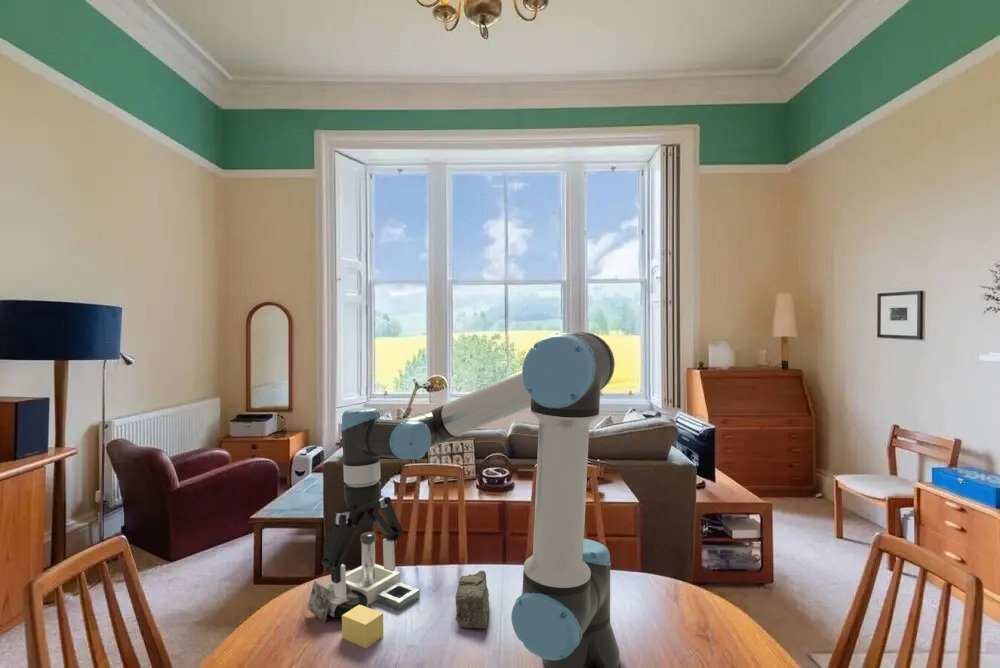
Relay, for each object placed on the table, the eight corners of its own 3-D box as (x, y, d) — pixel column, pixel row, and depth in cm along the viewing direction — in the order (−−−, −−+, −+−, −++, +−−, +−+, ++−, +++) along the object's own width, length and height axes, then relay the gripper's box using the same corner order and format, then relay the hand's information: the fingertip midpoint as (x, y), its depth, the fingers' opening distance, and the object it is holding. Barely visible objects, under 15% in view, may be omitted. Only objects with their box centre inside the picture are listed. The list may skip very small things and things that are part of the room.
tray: (400, 586, 133) (400, 572, 133) (366, 606, 124) (366, 591, 124) (369, 574, 139) (369, 561, 139) (335, 593, 130) (335, 579, 130)
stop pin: (368, 592, 129) (367, 539, 129) (357, 588, 131) (357, 535, 131) (379, 586, 132) (379, 534, 132) (369, 581, 134) (368, 530, 134)
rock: (442, 579, 128) (481, 563, 130) (450, 605, 128) (488, 588, 131) (455, 614, 111) (499, 595, 114) (463, 644, 111) (507, 624, 114)
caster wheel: (370, 621, 122) (335, 636, 114) (340, 596, 129) (305, 609, 120) (377, 593, 122) (342, 606, 114) (347, 570, 129) (312, 581, 120)
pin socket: (419, 597, 128) (419, 589, 128) (399, 611, 122) (399, 602, 122) (398, 589, 131) (398, 581, 131) (377, 602, 126) (377, 594, 126)
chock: (383, 636, 112) (383, 613, 112) (366, 649, 108) (365, 624, 108) (359, 626, 116) (359, 604, 116) (342, 638, 112) (341, 615, 111)
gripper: (392, 466, 123) (395, 556, 124) (300, 496, 103) (304, 604, 103) (416, 469, 119) (419, 563, 119) (325, 502, 98) (329, 615, 99)
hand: (366, 582), depth 111 cm, fingers open, 13 cm apart
